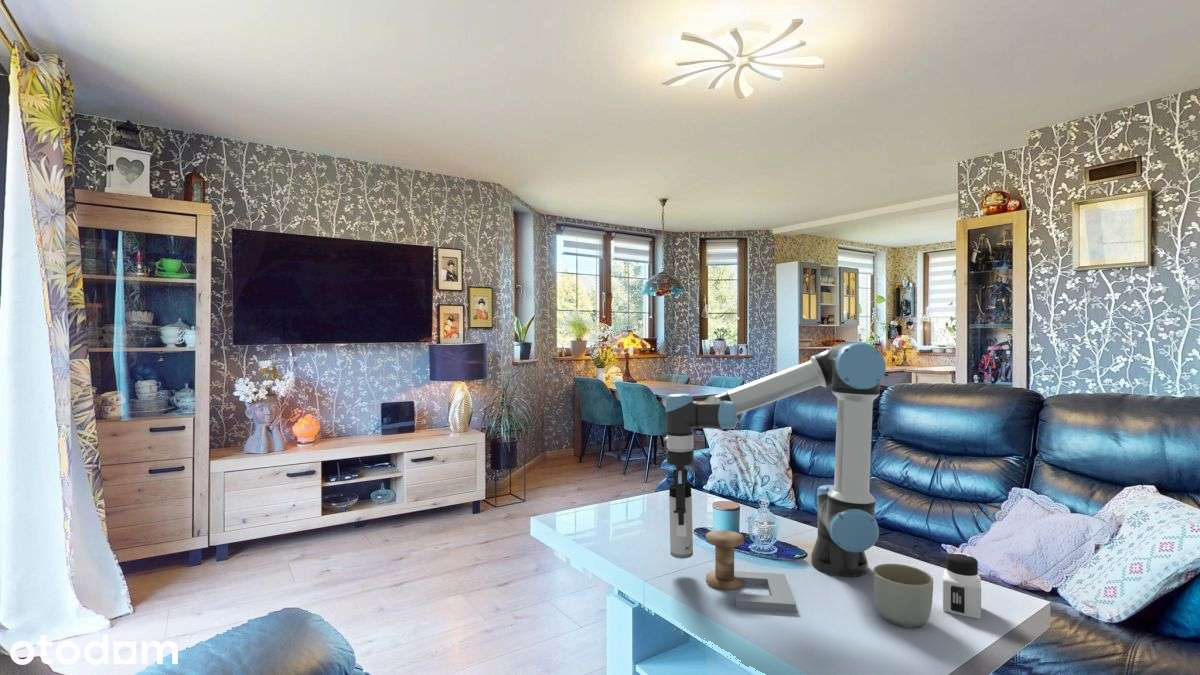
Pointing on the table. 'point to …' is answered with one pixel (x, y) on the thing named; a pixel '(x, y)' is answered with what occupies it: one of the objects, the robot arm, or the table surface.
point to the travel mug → (680, 544)
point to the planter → (903, 594)
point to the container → (962, 586)
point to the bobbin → (724, 559)
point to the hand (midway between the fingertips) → (681, 531)
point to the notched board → (775, 601)
